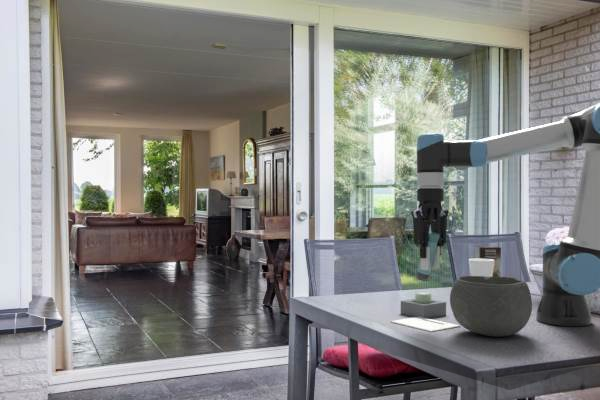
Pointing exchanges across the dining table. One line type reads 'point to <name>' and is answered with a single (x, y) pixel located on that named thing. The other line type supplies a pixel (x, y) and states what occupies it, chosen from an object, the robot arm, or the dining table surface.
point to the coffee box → (490, 257)
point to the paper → (425, 324)
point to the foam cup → (481, 267)
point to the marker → (432, 244)
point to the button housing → (423, 308)
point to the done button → (423, 297)
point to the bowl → (491, 304)
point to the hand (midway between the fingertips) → (430, 269)
